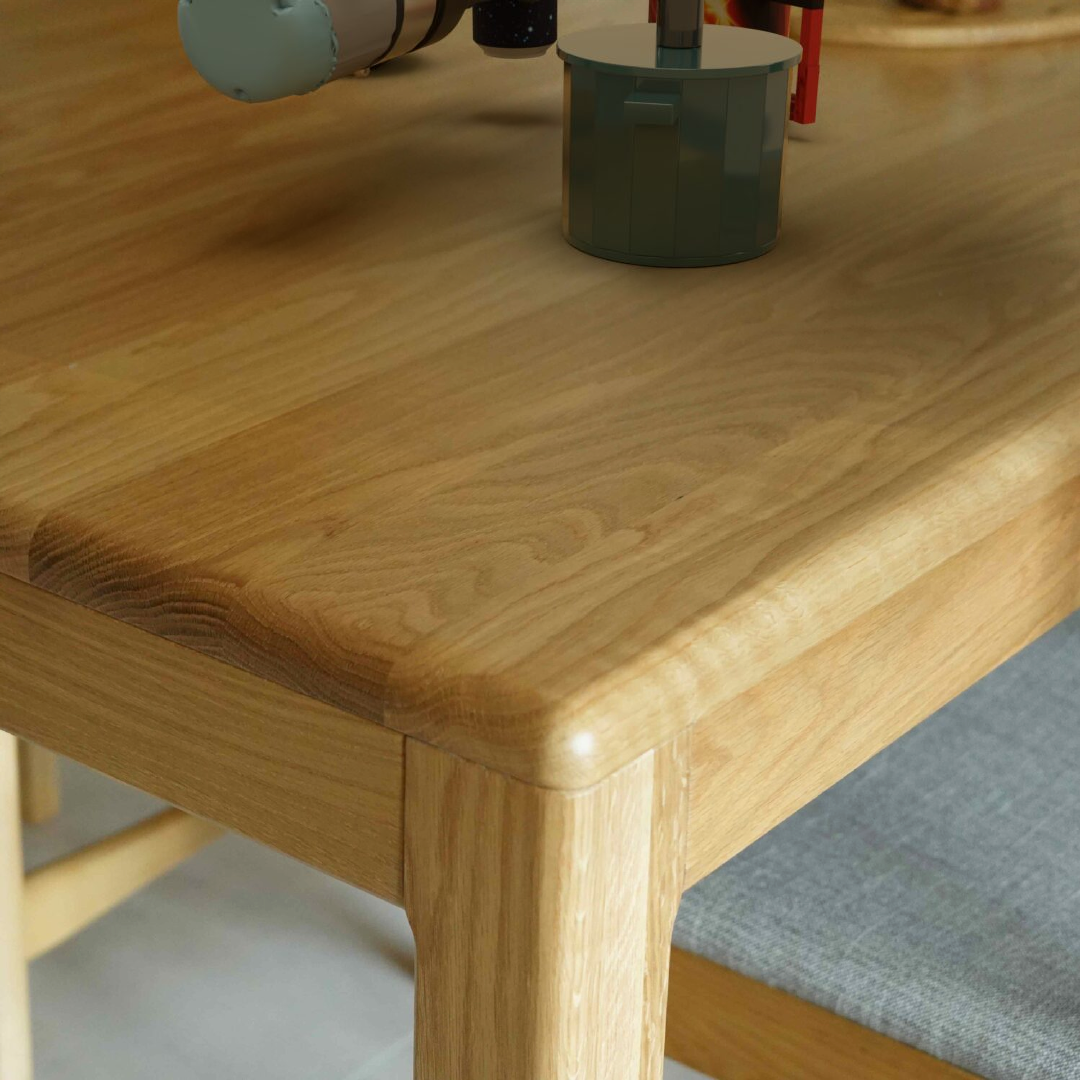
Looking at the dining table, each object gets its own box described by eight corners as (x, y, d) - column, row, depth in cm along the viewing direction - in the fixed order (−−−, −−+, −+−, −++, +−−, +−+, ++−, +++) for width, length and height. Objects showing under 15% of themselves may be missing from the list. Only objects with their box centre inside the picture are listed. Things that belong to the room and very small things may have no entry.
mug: (808, 143, 107) (824, -51, 102) (620, 118, 113) (626, -67, 108) (860, 115, 114) (877, -67, 109) (680, 92, 121) (689, -81, 115)
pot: (794, 200, 95) (807, 31, 91) (758, 292, 80) (772, 95, 76) (598, 186, 97) (601, 21, 93) (528, 273, 83) (528, 81, 78)
